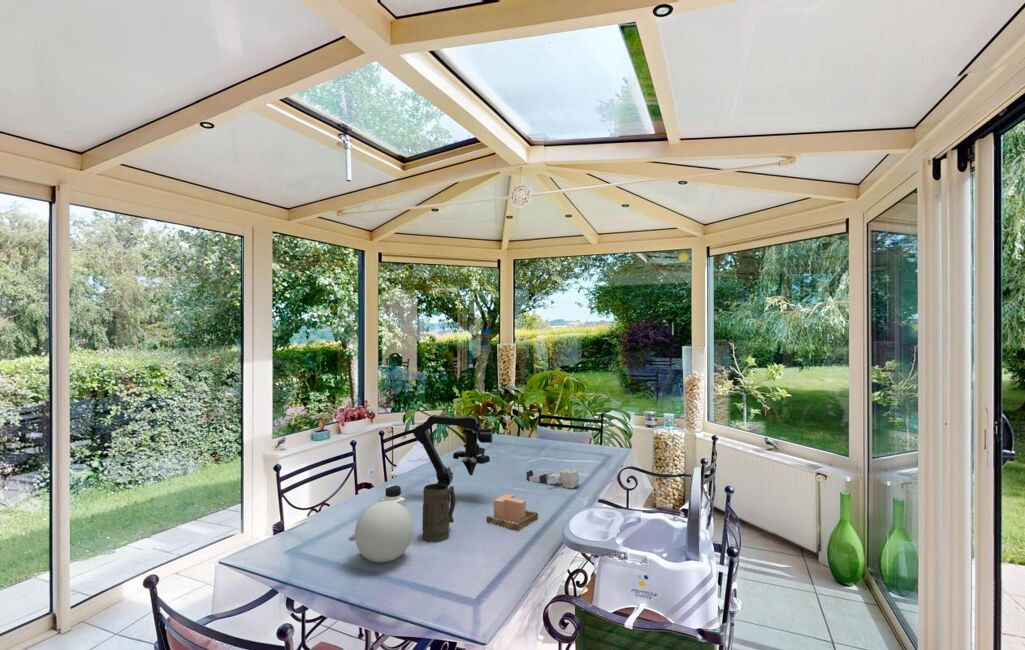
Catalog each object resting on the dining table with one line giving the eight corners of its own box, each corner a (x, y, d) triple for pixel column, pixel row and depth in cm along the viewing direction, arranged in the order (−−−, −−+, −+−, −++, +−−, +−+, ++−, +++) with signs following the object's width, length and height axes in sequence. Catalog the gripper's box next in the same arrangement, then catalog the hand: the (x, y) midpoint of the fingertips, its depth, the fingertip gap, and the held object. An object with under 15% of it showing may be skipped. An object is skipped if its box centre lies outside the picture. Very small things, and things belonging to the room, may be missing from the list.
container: (405, 516, 204) (405, 486, 205) (390, 521, 199) (390, 490, 199) (395, 511, 209) (395, 482, 210) (380, 516, 204) (380, 486, 204)
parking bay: (486, 522, 197) (486, 516, 197) (507, 511, 210) (507, 505, 210) (517, 531, 188) (517, 525, 188) (537, 518, 201) (537, 513, 201)
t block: (493, 521, 199) (493, 500, 199) (507, 514, 207) (507, 493, 207) (516, 527, 192) (517, 505, 192) (529, 519, 200) (529, 498, 201)
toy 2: (390, 542, 177) (391, 490, 178) (423, 557, 165) (424, 501, 166) (344, 561, 162) (344, 504, 163) (376, 579, 150) (377, 517, 151)
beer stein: (435, 545, 175) (438, 491, 177) (414, 538, 181) (417, 486, 182) (460, 533, 188) (463, 483, 190) (440, 528, 194) (443, 479, 195)
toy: (536, 465, 268) (584, 466, 252) (538, 481, 267) (586, 483, 251) (518, 473, 250) (568, 475, 235) (520, 491, 249) (570, 493, 234)
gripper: (496, 441, 224) (496, 474, 223) (467, 437, 234) (467, 468, 234) (482, 446, 215) (482, 480, 214) (452, 441, 225) (452, 473, 225)
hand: (471, 475), depth 222 cm, fingers closed
